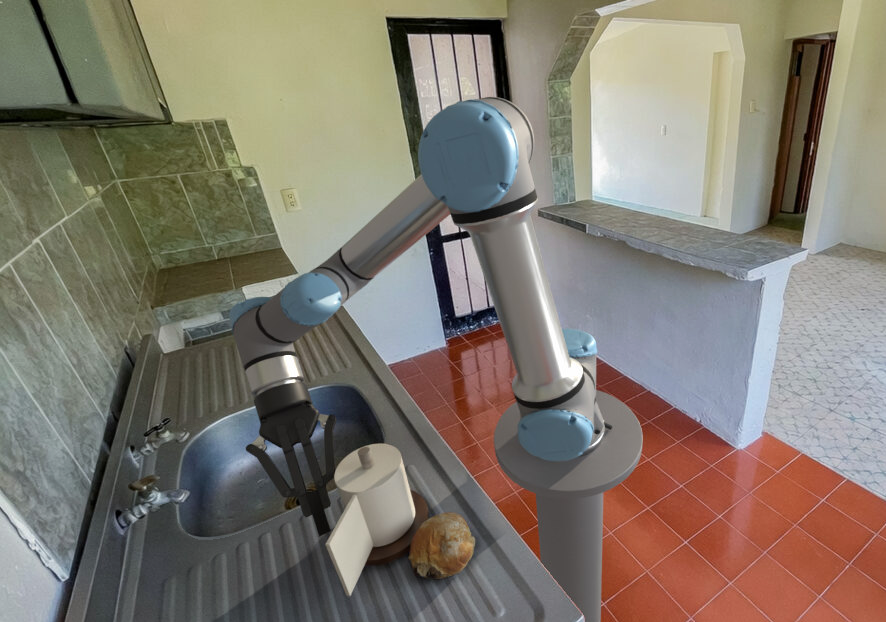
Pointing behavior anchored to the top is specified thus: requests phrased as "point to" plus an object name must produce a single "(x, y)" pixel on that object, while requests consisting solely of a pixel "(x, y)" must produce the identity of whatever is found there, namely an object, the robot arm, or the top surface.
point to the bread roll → (441, 546)
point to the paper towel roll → (369, 510)
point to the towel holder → (403, 543)
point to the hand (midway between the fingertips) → (325, 533)
